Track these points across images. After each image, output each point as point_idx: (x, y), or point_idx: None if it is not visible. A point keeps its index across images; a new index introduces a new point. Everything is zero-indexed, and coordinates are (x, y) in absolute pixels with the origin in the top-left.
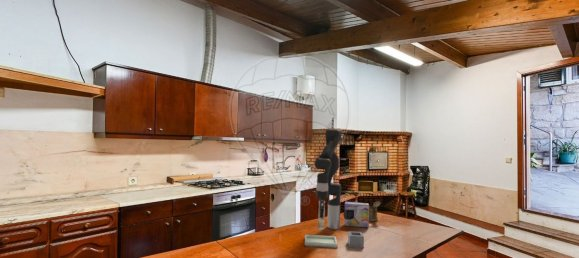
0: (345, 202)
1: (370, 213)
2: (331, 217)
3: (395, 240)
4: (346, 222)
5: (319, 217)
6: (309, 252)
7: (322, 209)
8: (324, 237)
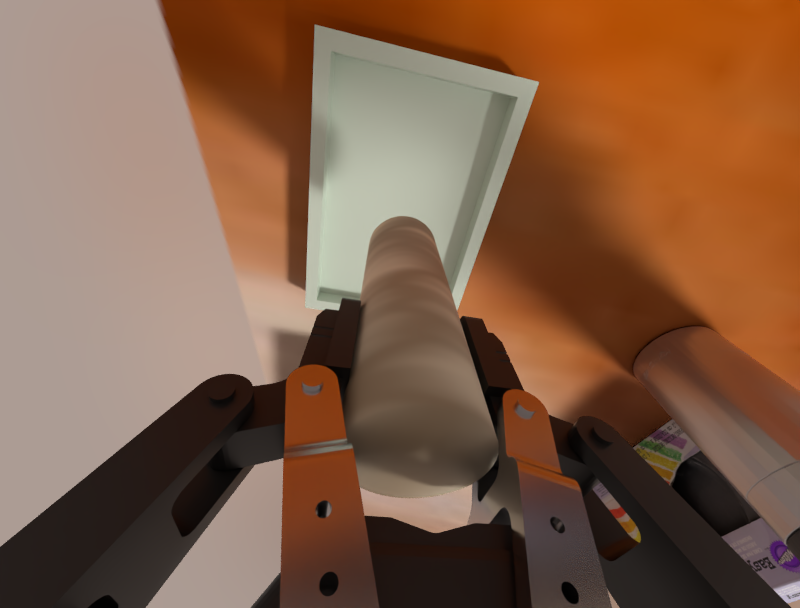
0: None
1: None
2: (722, 399)
3: (418, 503)
4: (683, 433)
5: (374, 290)
6: (172, 52)
7: (224, 461)
8: (461, 256)
